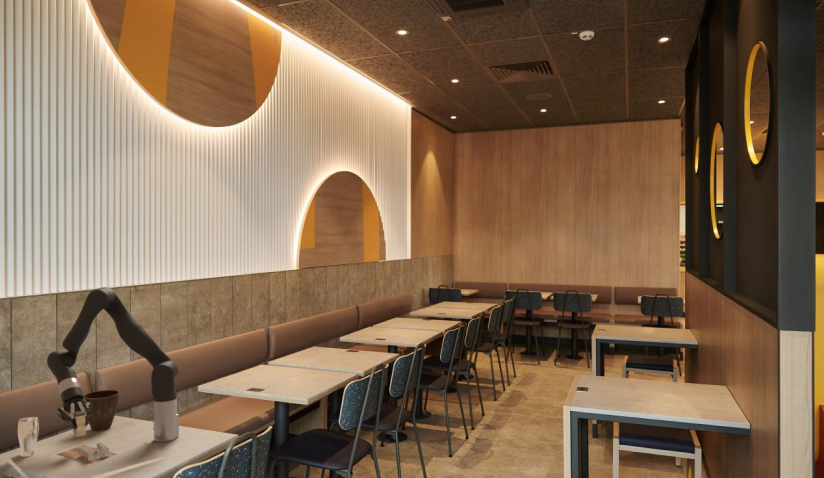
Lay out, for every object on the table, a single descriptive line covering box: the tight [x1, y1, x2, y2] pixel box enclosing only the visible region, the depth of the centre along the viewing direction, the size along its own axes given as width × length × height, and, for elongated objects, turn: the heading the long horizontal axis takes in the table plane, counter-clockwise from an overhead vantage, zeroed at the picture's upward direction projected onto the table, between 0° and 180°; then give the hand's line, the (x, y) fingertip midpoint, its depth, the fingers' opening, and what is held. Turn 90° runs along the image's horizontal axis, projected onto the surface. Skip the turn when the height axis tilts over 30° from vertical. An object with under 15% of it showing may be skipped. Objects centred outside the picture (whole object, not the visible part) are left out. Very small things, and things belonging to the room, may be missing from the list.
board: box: [56, 444, 117, 465], centre depth 220 cm, size 11×22×1 cm, turn 63°
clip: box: [80, 442, 110, 462], centre depth 217 cm, size 9×7×3 cm
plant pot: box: [83, 389, 121, 432], centre depth 253 cm, size 15×15×16 cm
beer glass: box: [17, 416, 40, 458], centre depth 221 cm, size 7×7×15 cm
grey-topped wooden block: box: [72, 411, 87, 438], centre depth 222 cm, size 5×3×9 cm, turn 48°
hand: (81, 427), depth 221 cm, fingers closed on grey-topped wooden block, 3 cm apart
